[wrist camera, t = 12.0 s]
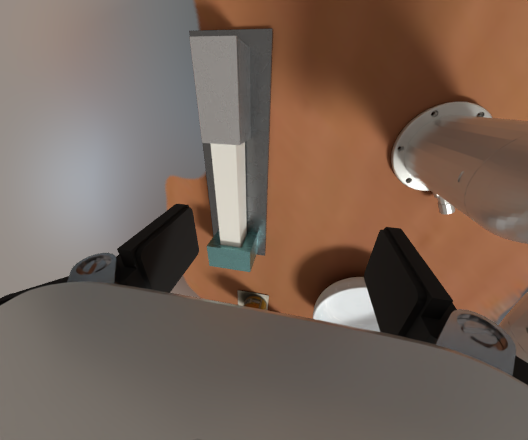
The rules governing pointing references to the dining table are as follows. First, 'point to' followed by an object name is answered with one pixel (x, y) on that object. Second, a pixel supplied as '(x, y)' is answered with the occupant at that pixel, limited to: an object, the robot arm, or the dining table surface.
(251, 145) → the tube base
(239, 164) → the white rectangular stick
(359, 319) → the serving bowl
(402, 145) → the robot arm
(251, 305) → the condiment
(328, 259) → the dining table surface
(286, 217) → the dining table surface
